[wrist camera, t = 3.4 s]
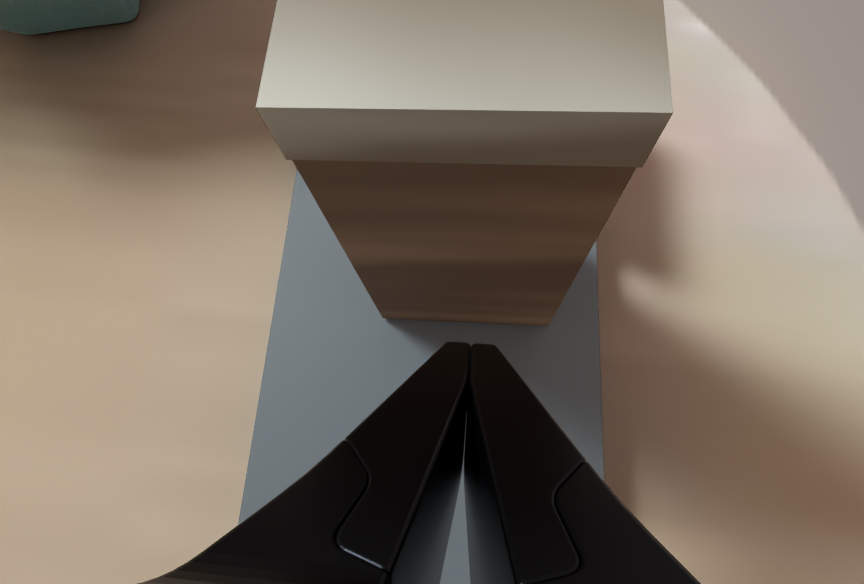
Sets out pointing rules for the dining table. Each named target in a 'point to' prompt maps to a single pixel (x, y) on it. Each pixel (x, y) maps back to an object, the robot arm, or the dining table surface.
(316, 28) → the block
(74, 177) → the dining table surface
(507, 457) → the robot arm
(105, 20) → the flower pot
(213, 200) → the dining table surface
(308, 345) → the slate board
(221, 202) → the dining table surface
